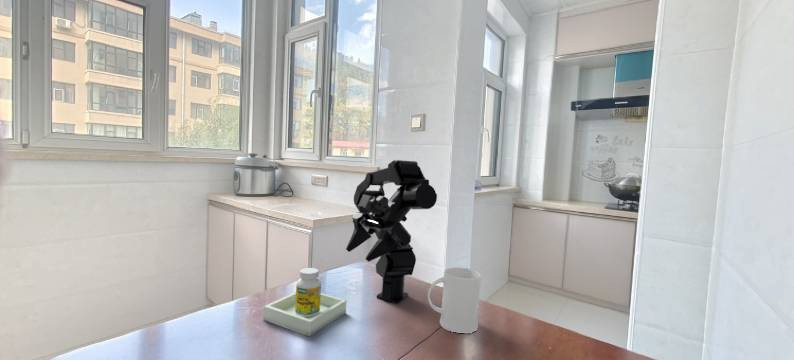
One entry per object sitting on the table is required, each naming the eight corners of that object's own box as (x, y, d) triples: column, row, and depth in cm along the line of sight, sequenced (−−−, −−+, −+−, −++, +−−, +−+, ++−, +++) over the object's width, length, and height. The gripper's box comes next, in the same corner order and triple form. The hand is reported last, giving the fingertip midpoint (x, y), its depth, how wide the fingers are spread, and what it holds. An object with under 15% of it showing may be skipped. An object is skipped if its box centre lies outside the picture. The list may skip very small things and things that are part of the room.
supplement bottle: (321, 308, 78) (324, 267, 78) (317, 318, 73) (319, 275, 72) (298, 306, 78) (300, 266, 77) (291, 317, 73) (294, 273, 72)
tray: (303, 300, 84) (304, 288, 84) (345, 313, 78) (346, 300, 78) (263, 319, 72) (264, 306, 72) (309, 336, 67) (309, 321, 67)
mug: (427, 332, 72) (431, 277, 71) (423, 314, 80) (427, 264, 80) (482, 335, 72) (486, 280, 71) (472, 317, 81) (476, 267, 80)
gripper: (360, 180, 88) (318, 225, 82) (403, 186, 73) (355, 241, 67) (383, 210, 93) (346, 253, 87) (428, 220, 78) (386, 274, 72)
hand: (356, 255), depth 78 cm, fingers open, 9 cm apart
